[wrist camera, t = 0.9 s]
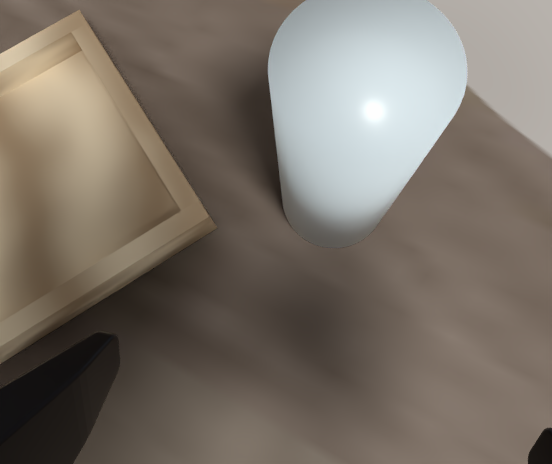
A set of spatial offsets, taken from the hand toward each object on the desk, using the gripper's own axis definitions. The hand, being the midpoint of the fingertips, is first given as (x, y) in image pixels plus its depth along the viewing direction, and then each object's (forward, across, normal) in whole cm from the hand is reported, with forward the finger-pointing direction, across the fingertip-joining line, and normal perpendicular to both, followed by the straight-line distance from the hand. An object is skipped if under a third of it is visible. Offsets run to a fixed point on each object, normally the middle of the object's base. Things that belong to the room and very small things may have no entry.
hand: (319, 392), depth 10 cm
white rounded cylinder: (+15, 0, +3) cm, 16 cm away
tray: (+13, +16, +5) cm, 22 cm away
